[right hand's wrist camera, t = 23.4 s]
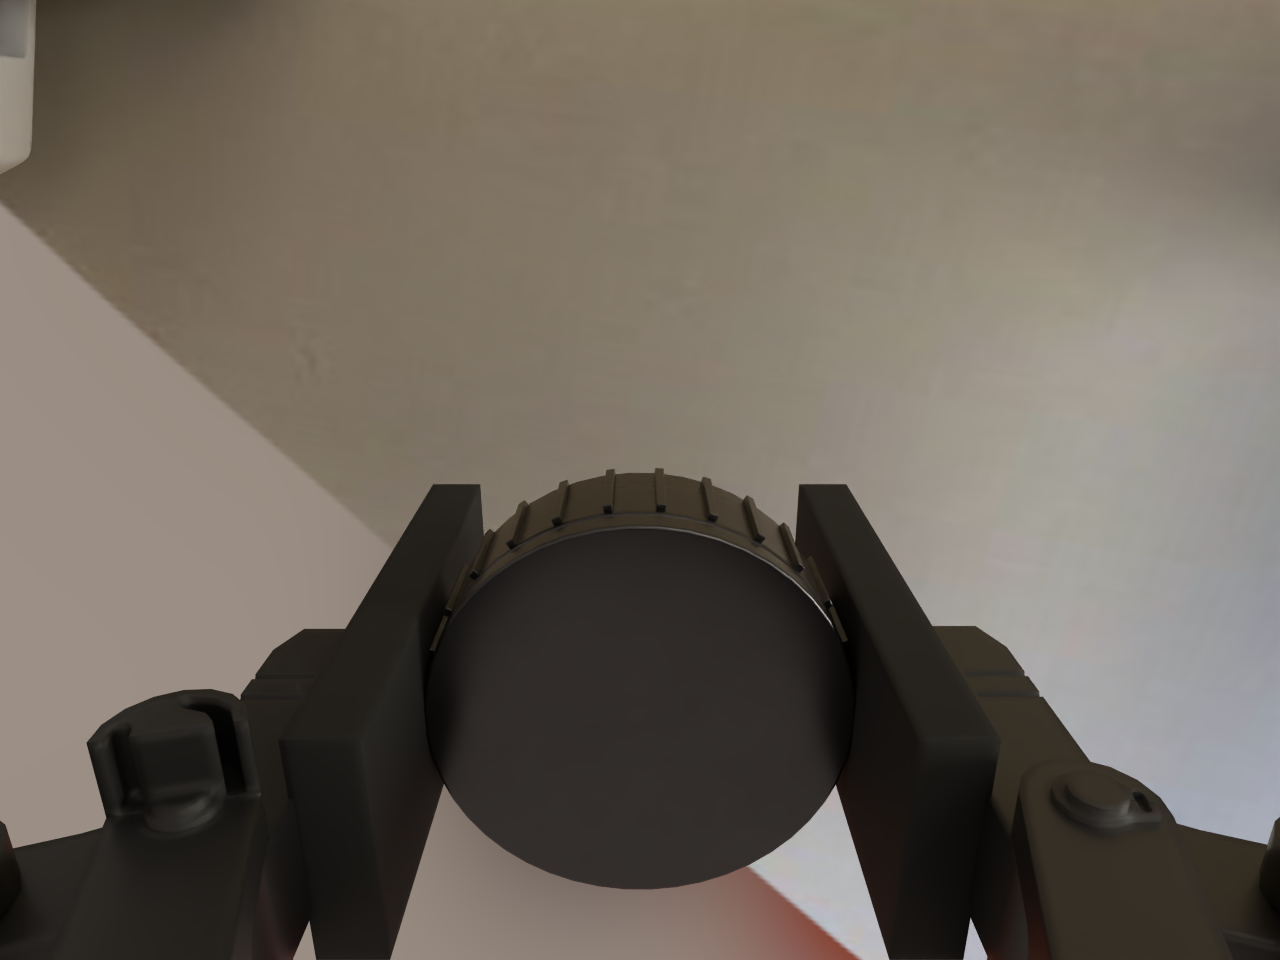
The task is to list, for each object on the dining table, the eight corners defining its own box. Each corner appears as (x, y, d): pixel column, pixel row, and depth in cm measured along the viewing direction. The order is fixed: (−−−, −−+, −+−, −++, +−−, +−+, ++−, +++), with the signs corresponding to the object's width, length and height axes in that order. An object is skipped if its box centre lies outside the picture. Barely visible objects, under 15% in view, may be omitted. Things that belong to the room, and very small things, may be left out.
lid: (776, 411, 11) (801, 459, 9) (872, 748, 13) (906, 836, 11) (385, 533, 12) (343, 596, 10) (527, 838, 13) (512, 935, 12)
